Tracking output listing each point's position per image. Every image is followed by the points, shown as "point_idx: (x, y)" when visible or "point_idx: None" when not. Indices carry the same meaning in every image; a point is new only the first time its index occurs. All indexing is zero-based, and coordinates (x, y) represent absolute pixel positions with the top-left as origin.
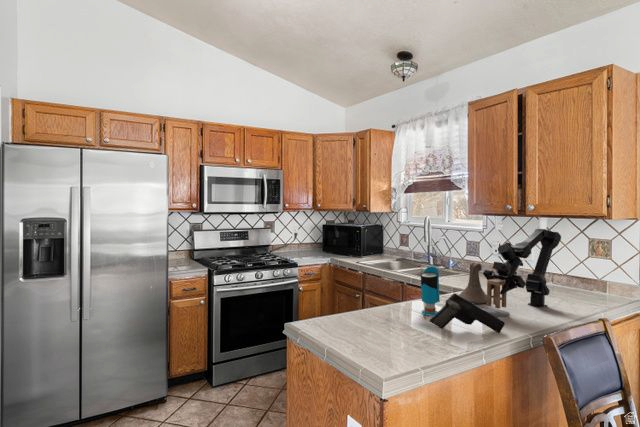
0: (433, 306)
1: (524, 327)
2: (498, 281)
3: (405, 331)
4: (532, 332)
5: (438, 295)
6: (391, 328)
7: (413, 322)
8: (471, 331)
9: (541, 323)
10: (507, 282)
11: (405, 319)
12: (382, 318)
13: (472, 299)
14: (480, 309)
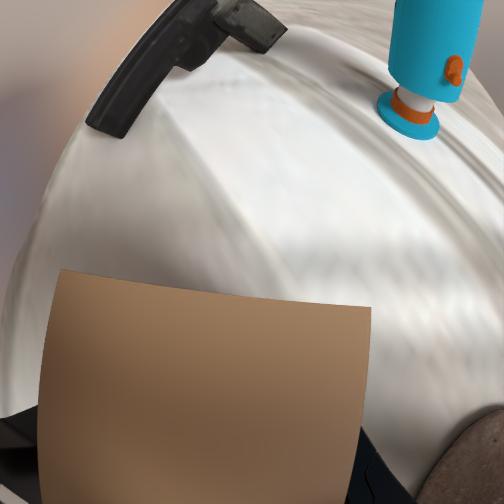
0: (399, 87)
1: (60, 258)
2: (84, 362)
3: (286, 14)
4: (38, 227)
5: (394, 44)
6: (315, 12)
7: (333, 40)
8: (183, 81)
9: (37, 380)
10: (4, 429)
11: (363, 44)
12: (386, 32)
13: (474, 445)
14: (142, 38)
